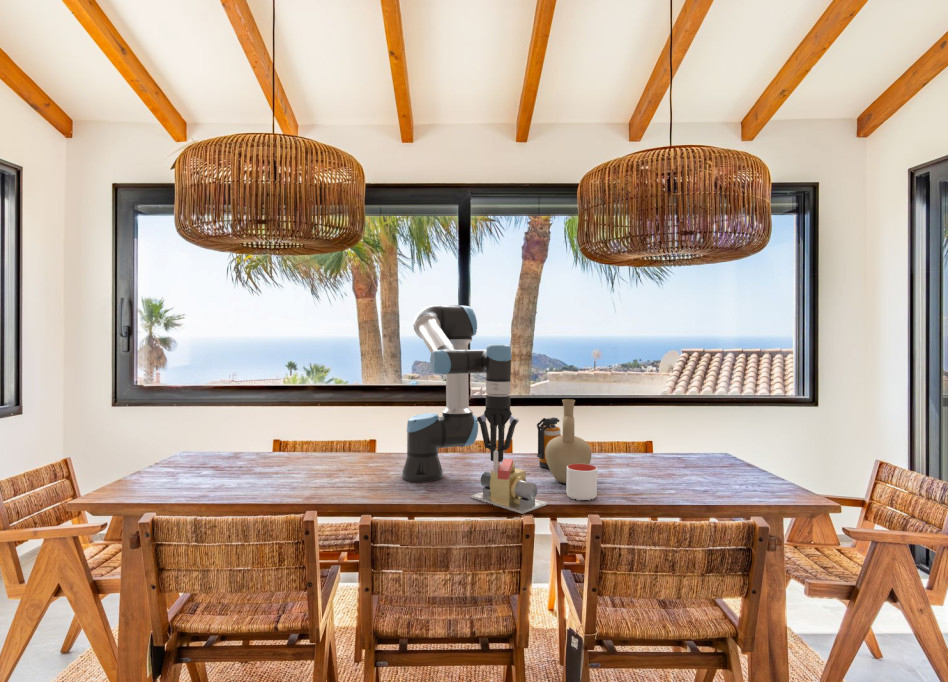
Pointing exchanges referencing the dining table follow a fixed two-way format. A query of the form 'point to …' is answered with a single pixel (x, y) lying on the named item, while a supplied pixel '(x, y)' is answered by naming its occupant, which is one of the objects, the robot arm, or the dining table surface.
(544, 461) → the canister
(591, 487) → the cup
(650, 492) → the dining table surface
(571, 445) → the vase
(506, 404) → the robot arm
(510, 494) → the valve
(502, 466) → the lever
